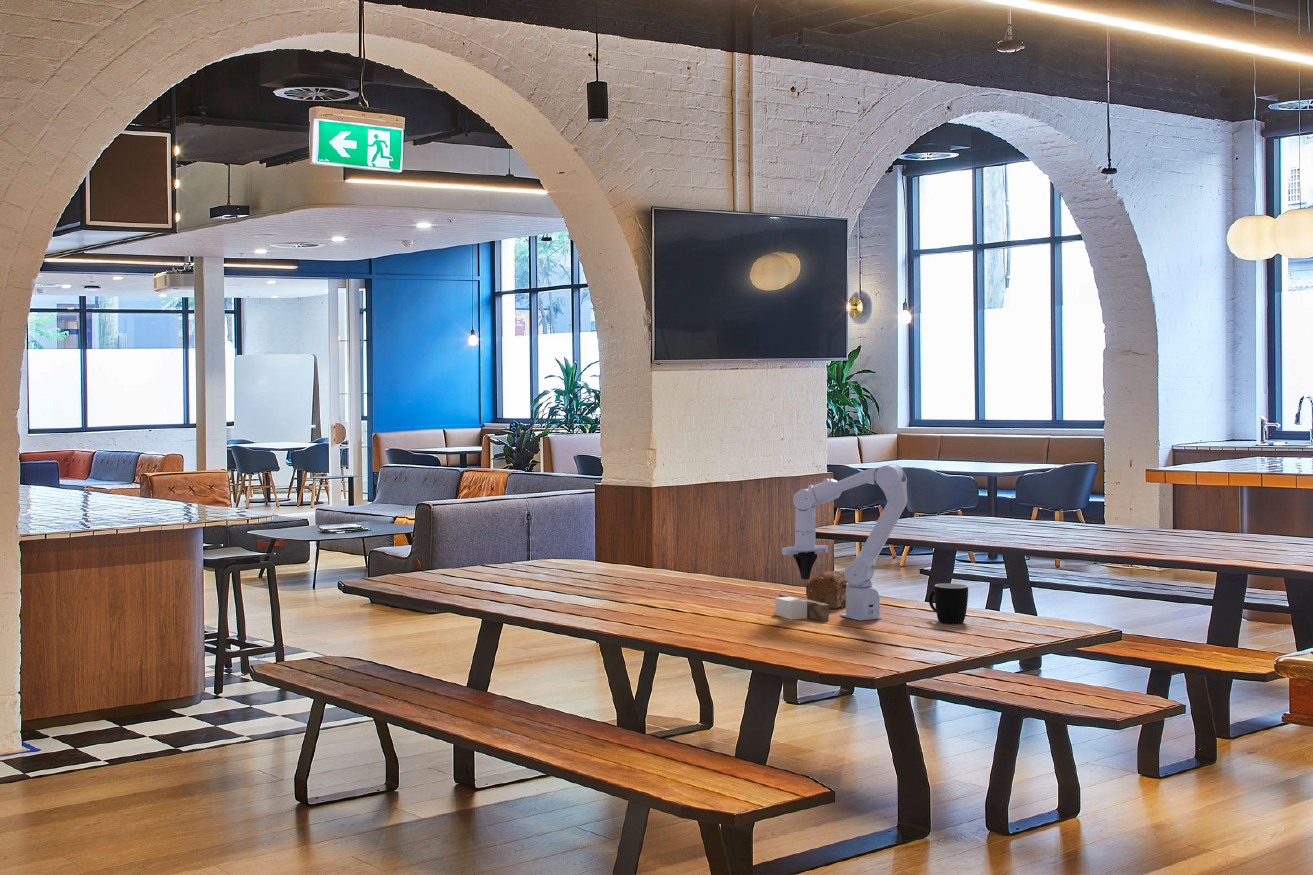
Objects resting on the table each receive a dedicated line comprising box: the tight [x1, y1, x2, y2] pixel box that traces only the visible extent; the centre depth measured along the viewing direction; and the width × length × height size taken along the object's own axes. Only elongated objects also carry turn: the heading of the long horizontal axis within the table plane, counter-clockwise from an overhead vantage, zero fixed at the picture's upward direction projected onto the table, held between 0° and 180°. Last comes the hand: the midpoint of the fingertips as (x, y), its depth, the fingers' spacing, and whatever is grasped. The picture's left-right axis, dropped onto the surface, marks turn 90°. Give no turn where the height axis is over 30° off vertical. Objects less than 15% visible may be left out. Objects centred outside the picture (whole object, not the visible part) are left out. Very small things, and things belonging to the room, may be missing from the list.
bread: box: [805, 570, 848, 610], centre depth 382 cm, size 19×11×10 cm, turn 150°
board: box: [778, 593, 830, 622], centre depth 362 cm, size 22×2×4 cm, turn 27°
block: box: [774, 596, 808, 620], centre depth 360 cm, size 9×5×5 cm, turn 25°
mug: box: [928, 583, 969, 625], centre depth 351 cm, size 12×9×10 cm
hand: (805, 578), depth 364 cm, fingers closed
